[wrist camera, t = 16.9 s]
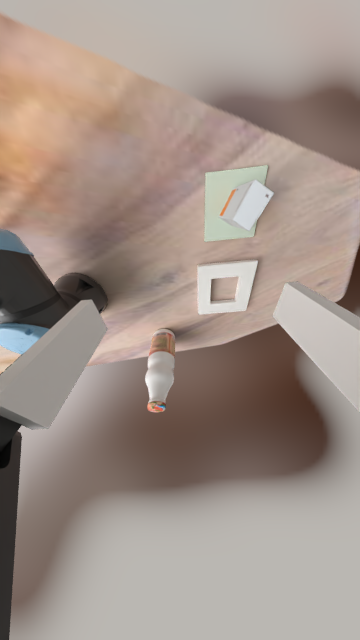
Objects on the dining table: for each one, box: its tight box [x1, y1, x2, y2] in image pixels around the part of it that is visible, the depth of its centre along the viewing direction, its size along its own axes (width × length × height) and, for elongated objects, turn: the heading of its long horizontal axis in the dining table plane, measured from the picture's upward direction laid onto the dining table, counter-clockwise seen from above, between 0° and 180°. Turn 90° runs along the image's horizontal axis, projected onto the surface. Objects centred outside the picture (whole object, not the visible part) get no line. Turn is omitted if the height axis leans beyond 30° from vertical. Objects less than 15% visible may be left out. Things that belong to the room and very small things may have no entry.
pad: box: [204, 165, 268, 242], centre depth 34 cm, size 13×13×1 cm
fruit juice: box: [145, 329, 175, 412], centre depth 49 cm, size 9×9×28 cm
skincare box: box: [219, 179, 274, 231], centre depth 29 cm, size 6×4×12 cm
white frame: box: [197, 259, 258, 315], centre depth 46 cm, size 17×17×2 cm
